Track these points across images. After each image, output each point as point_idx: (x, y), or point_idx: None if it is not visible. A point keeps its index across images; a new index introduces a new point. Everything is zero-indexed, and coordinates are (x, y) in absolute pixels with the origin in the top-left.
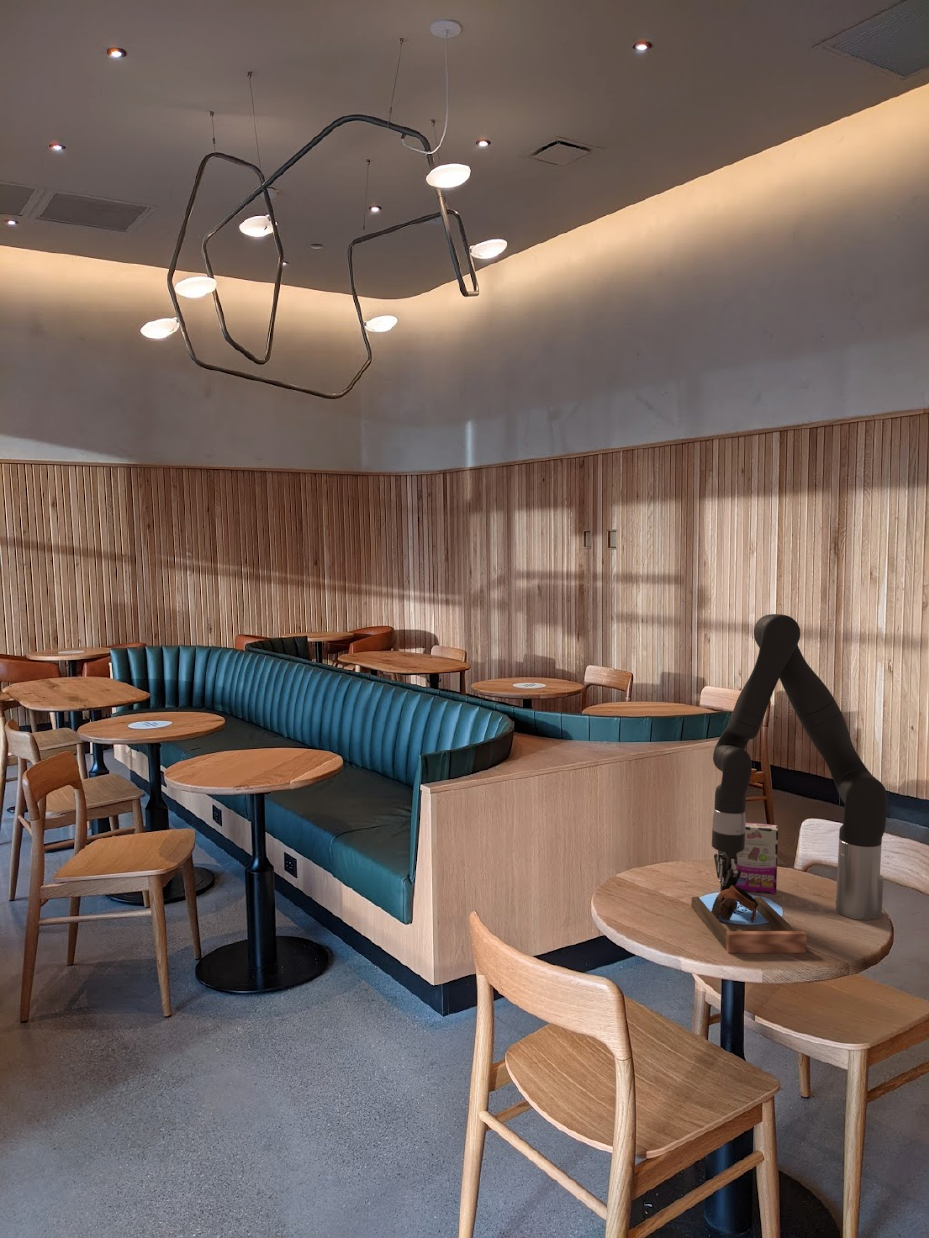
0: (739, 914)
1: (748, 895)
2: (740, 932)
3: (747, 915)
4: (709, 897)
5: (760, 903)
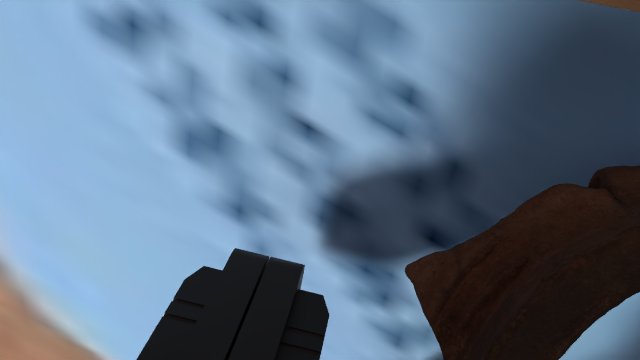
0: None
1: (609, 306)
2: None
3: (561, 163)
4: (43, 243)
5: (605, 3)
